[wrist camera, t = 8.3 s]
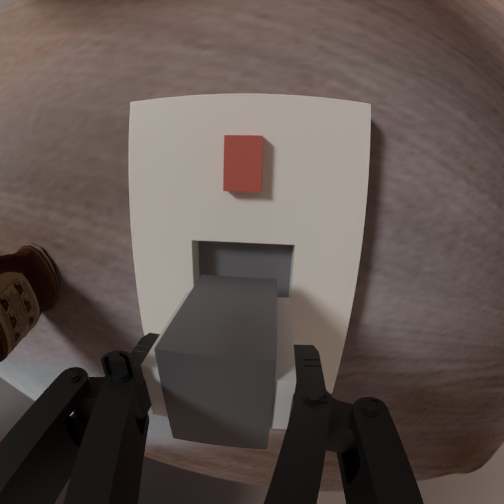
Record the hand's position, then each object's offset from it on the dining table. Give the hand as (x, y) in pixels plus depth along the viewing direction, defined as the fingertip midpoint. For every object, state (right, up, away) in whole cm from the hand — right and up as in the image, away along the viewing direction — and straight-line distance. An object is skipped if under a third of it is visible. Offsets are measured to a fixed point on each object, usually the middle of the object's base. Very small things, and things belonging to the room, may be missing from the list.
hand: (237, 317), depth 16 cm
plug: (0, 0, 0) cm, 1 cm away
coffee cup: (-19, +1, +6) cm, 20 cm away
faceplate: (0, +3, +4) cm, 5 cm away
